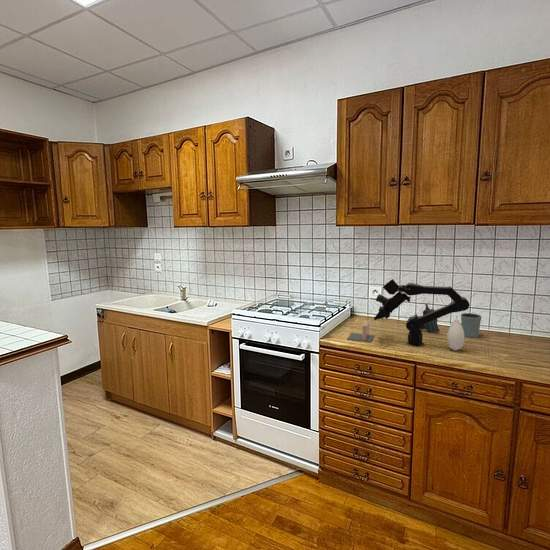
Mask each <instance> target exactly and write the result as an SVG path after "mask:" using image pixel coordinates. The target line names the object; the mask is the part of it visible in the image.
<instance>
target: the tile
mask: <svg viewBox="0 0 550 550" xmlns="http://www.w3.org/2000/svg"><path fill="white" fill-rule="evenodd" d="M361 331H362V333H361V334H362V340H367V338H368V336H369V335H370V321H368V320H367V321H366V320H365V322H364V323H363V325H362V330H361Z"/></svg>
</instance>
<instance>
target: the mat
mask: <svg viewBox="0 0 550 550" xmlns="http://www.w3.org/2000/svg"><path fill="white" fill-rule="evenodd" d="M374 338H375V335H374V334H369V336H368V338H367V340H362V333H357V332H356V333H355V332H351V333H350V334H349V336H348V337H347V341H352V342H353V341H355V342H363V343H370V344H371V343H372V342H373V339H374Z"/></svg>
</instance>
